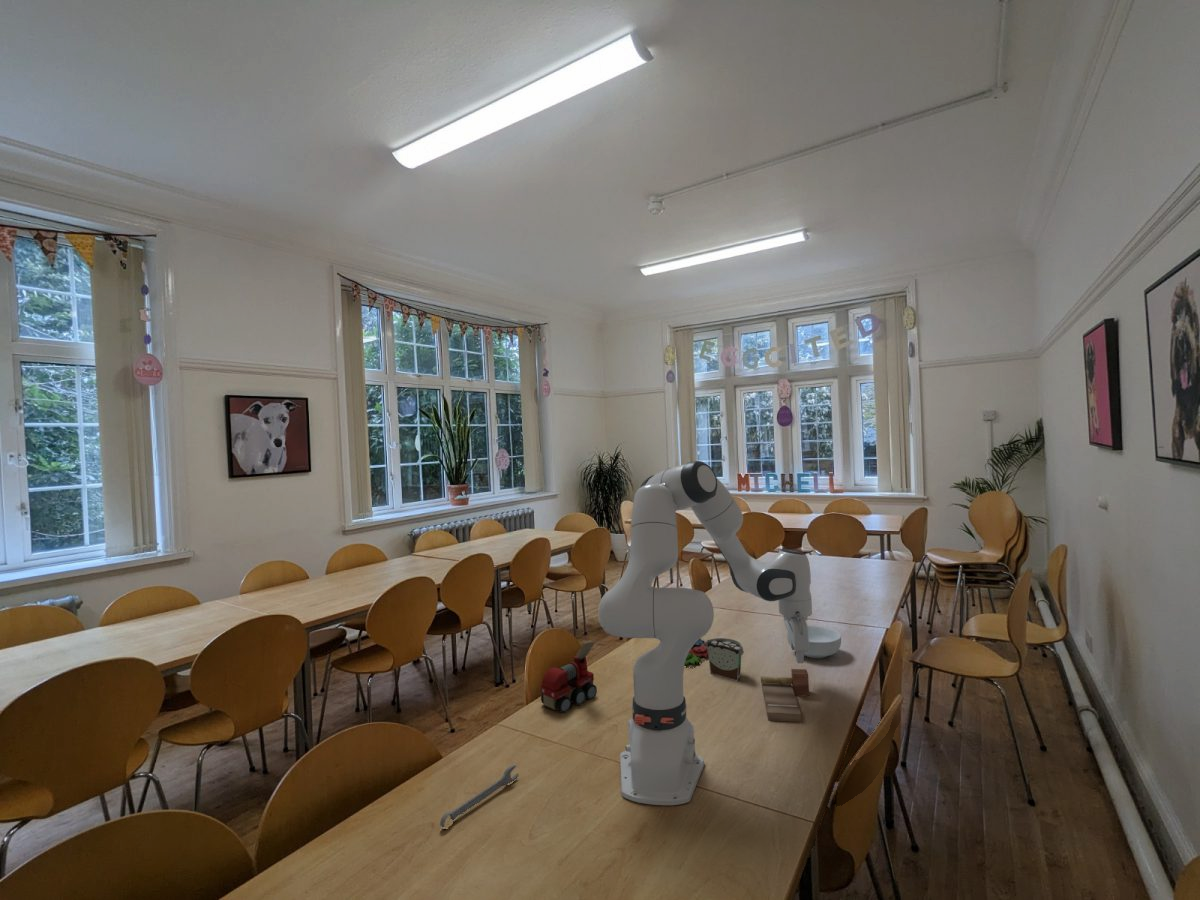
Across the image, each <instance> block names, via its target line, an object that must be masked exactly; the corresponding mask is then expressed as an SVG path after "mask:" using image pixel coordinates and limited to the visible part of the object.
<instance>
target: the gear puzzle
mask: <svg viewBox="0 0 1200 900" xmlns="http://www.w3.org/2000/svg"><path fill="white" fill-rule="evenodd" d="M706 642H707V641H705V640H703V639H702V638H700V639H699V640H698V641H697V642H696V643H695V644H694V645H693V647H692V648H691V649H690V651H689V653H688V655H687V657H686V660H685V664H684V666H686V667H685V668H687V667H690V668H689V669H691V668H692V669H694V668H696V667H697V665H696V664H698V663H701V662H702V663H703V662H706V661H708V660H709V658H708V650H707V647H705V646H706ZM707 659H708V660H707ZM705 660H706V661H705ZM695 663H696V664H695ZM702 663H701V664H702ZM698 665H699V664H698ZM695 666H696V667H695ZM693 667H694V668H693Z"/></svg>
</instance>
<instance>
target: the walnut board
mask: <svg viewBox="0 0 1200 900" xmlns="http://www.w3.org/2000/svg"><path fill="white" fill-rule="evenodd" d="M761 691H762V696H763V700H764V706H765V710H766V712H765V713H766V717H767V720H768V721H771V722H772V721H774V722H775V721H777V722H790V723H792V722H796V723H802V713H801V710H800V707H799V704H798V701H797V697H796V695H795V694H794V691H793V688H792V684H780V683H761Z"/></svg>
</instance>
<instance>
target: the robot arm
mask: <svg viewBox="0 0 1200 900" xmlns="http://www.w3.org/2000/svg"><path fill="white" fill-rule="evenodd" d="M689 508H691V510H692V511H693V513H694V515H695V517H696V518H697V520H698V521H699V522H700V524H701V525H702V527H703V528H704V529H705V531H706V532H707V533H708V534H709V535H710V537H711V538H712V540H713V541H714V543H715V545H716V546H717V548H718V549H719V551H720V553H721V554H722V557H723V558H724V560H725V561H726V563H727V565H728V568H729V570H730V577H731V580H732V582H733V584H734V586H735V587H736V588H737V589H738V590H740V591H741V592H745V593H748V594H750V595H753V596H755V597H756V598H759V599H761V600H763V601H767V602H777V601H778V612H779V614H780V615H782V616H783V617H782V618H783V622H784V626H785V629H786V633H787V632H788V634H789V637H790V641H791V646H790V649H791V650H793V651H795V653H796V655H795V661H796V663H797V664H804V661H805V659H804V657H805V656H804V653H805V652H808V651H809V636H808V627H807V625H808V624H807V621H808V620H809V619H808V617H811V616H812V614H813V606H812V605H813V603H812V602H813V601H812V594H811V590H810V587H811V583H812V581H811V580H812V579H811V576H812V575H811V566H810V562H809V558H808V555H807V554H805V553H804V552H803V551H800V550H796V549H790V548H789V549H788V548H783V549H779V550H778V553H777V554H776V555H775V556H774V557H773V558H772V559H770V560H769V561H766V562H763V561H760V560H758V559H756V558H754V557H752V556H751V555H749V553H747V551H746V549H745V547H744V546H743V544H742V542H741V541H740V539H739V537H738V535H737V533H738V532H739V530H740V529H741V527H742V525H743V522H744V515H743V512H742V510H741V508H740V506H739V504H738V502H737V501H736V499H735V498H734V497H733V495H732V493H731V492H730V491H729V489H727V487H726V486H725V485H724V484H723V482H721V480H720V479H719V478H718V477H717V475H716V473H715V471H714V470H713V468H712V467H711V466H710V465H708V464H707V463H706V462H703V461H702V460H693V461H687V462H686V463H684V464H680V465H677V466H673V467H668V468H666V469H664V470H661V471H660V472H658V473H656V474H653V475H650V476H649V477H647V478H646V479H645V480H643V481H642V483H641V485H640V486H639V488H638V489H637V490H636V492H635V495H634V498H633V503H632V510H631V517H630V521H631V522H630V546H629V548H630V550H629V558H628V563H627V566H626V569H625V570H624V572H623V574H622V576H621V578H620V579H619V580H618V581H617V582H616V583H615V584H614V585H613V586H612V587H611V588H610V589H609V590H607V591H606V592H605V593H604V595H603V596H602V597H601V599H600V601H599V603H598V609H597V616H598V617H597V618H598V621H599V624H600V626H601V628H602V629H603V630H604V632H605V633H607V635H611V636H616V637H620V638H625V639H656V640H659V644H658V645H656V646H655V647H654V648H652V649H650V650H648V651H646V652H644V653H642V654H641V655H640V656H639V657H637V659H636V660H635V662H634V664H633V668H632V673H633V674H632V676H633V677H632V678H633V692H634V693H633V696H632V697H633V698H632V704H631V710H632V717H631V718H630V719H629V720H627V721H628V722H627V725H628V727H627V729H628V744H625V745H626V746H625V750H624V751H622V752H620V755H619V765H620V766H619V767H620V768H619V769H620V770H619V771H620V788H621V789H620V791H621V797H623V798H624V799H627V800H629V801H632V802H634V803H639V804H644V805H653V806H676V805H683V804H686V803H689V802H691V800H692V797H693V795H694V792H695V789H696V787H697V785H698V782H699V779H700V776H701V774H702V771H703V769H704V767H705V759H704V758H703V757H702V756H700V755H698V754H696V742H695V741H696V739H695V738H696V737H695V730H694V729H695V727H694V724H693V723H692V722H691V721H690V720H689V719H688V718H687V702H686V697H685V695H684V672H685V671H684V670H685V667H684V664H685V660H686V657H687V655H688V653H689V651H690V649H691V648H692V647H693V645H694V644H695V643H696V642H697V641H698V640H699V639H702V638H703V637H705V636H706V635H707V633H709V631H710V630H711V628H712V625H713V623H714V619H715V618H714V617H715V612H714V605H713V604H712V602H711V600H710V597H709V596H708V595H707V594H706V593H705V592H704V591H702V590H697V589H692V588H688V587H655V586H652V585H653V582H654V581H655V579H656V578H657V577H658V576H660V575H661V574H664V573H666V572H667V571H669V570H670V569H672V568H673V567H674V566H675V565H676V563H677V561H678V559H679V541H678V520H677V512H678V511H682V510H687V509H689Z"/></svg>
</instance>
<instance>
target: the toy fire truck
mask: <svg viewBox="0 0 1200 900" xmlns="http://www.w3.org/2000/svg"><path fill="white" fill-rule="evenodd" d="M594 645H595V642H594V641H593V640H589V641H588V640H587V641H585V642H582V644H581V647H580V648H579V650H578V652H577V653H576V655H574V656H573V661H570V663H568V664H566V665H562V666H561V667H559V668H558V667H555V666H553V667H551V668H549V669H547V670H546V672H545V673H544V675H543V678H542V682H541V684H540V692H541V695H540V700H541V703H542V704H543V705H544V706H546V707H547V708H550V709H552V710H555V711H558V712H561V713H562V714H564V713H568V712H569V710H570V708H571V706H572V703H573V704H575V705H577V706H581V705H582V704H583V703H585V701H586V699H587V700H589V701H591V700H593V699H594V698H595V697H596V696H597V693H598V692H597V691H598V688H597V686H596V685H595V684H594V680H595V678H594V677H595V676H594V673H593V672H591V671H589V670H588V666H587V656H588V654H590V651H591V649H592V648H593V646H594ZM590 699H591V700H590Z"/></svg>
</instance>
